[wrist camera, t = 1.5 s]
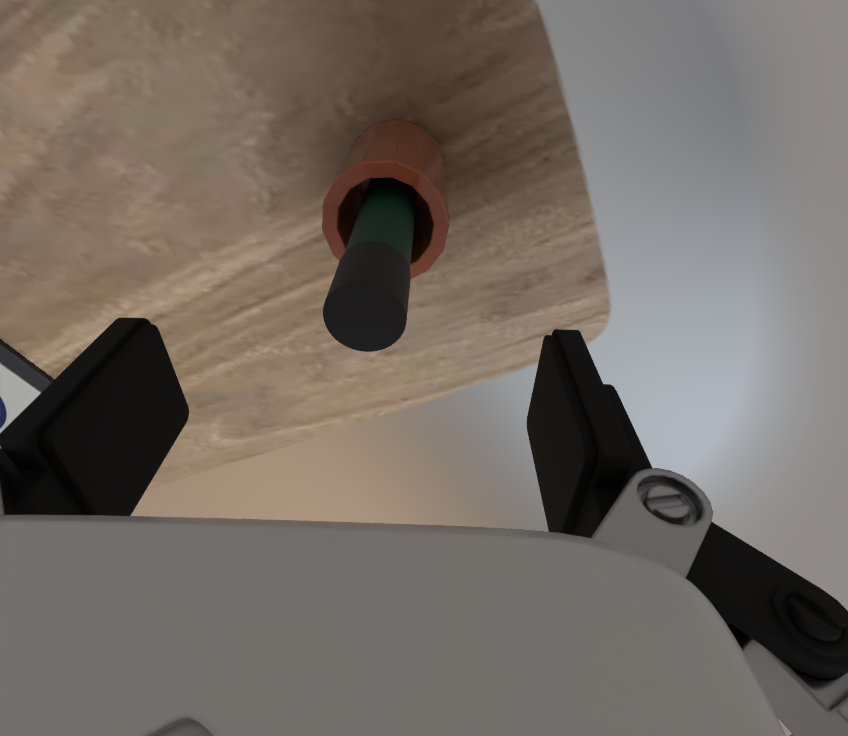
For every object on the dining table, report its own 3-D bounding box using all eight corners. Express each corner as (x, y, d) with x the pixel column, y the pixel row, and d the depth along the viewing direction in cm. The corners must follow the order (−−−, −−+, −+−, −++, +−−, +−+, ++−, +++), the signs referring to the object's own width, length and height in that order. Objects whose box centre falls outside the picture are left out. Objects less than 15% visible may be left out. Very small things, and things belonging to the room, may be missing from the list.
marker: (364, 165, 23) (305, 303, 13) (405, 141, 22) (377, 266, 12) (389, 207, 24) (353, 363, 14) (428, 185, 23) (421, 333, 13)
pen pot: (329, 152, 23) (295, 202, 18) (416, 97, 21) (409, 133, 16) (381, 235, 26) (366, 301, 20) (462, 191, 24) (470, 250, 19)
